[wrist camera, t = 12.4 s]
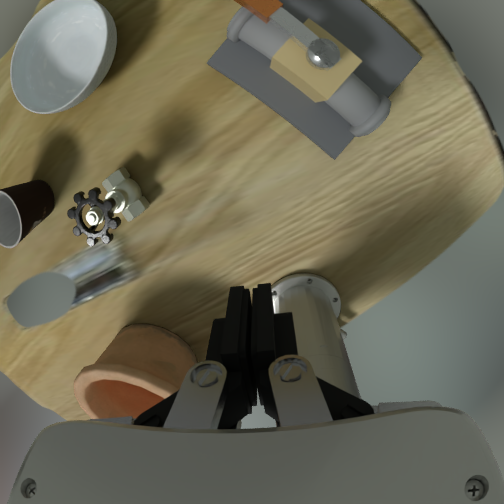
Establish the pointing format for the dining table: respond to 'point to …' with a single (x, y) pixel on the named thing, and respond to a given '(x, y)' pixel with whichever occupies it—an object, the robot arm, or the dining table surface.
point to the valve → (108, 206)
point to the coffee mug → (23, 210)
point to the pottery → (134, 372)
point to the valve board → (353, 36)
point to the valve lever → (295, 32)
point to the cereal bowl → (63, 55)
